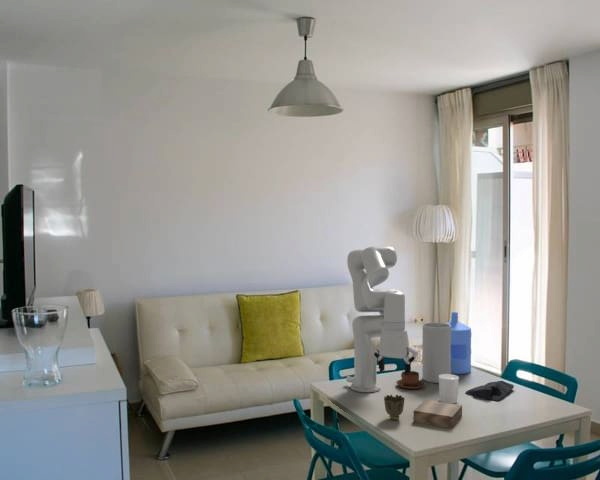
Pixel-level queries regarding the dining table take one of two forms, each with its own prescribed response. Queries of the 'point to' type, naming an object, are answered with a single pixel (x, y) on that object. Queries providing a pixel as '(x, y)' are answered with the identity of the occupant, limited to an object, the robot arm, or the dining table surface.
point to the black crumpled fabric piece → (491, 391)
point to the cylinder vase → (436, 351)
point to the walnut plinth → (438, 413)
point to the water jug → (460, 346)
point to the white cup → (448, 388)
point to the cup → (394, 406)
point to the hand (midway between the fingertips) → (394, 372)
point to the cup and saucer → (410, 381)
